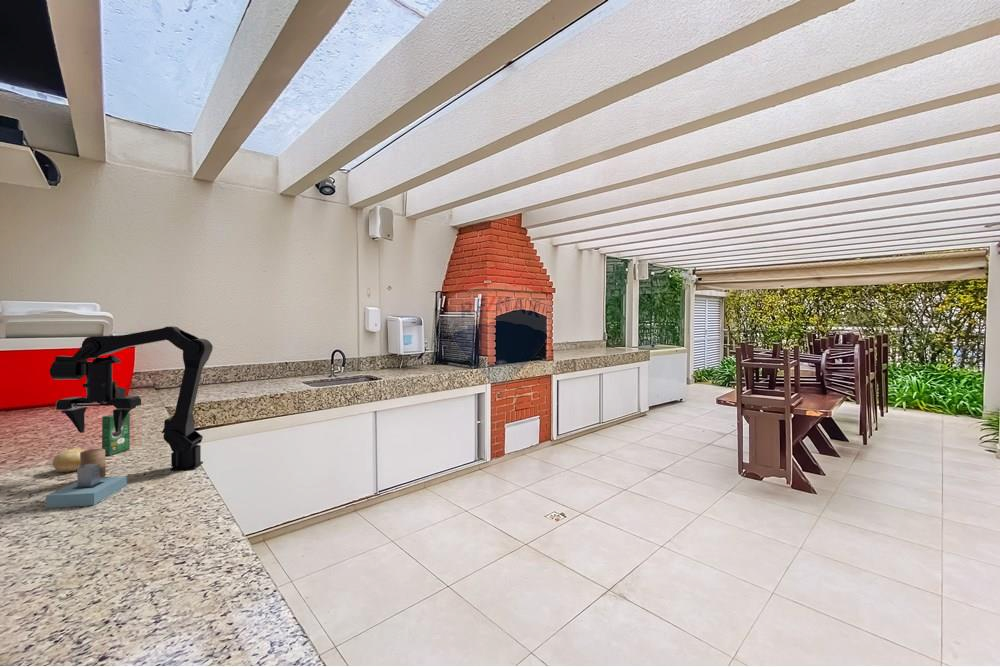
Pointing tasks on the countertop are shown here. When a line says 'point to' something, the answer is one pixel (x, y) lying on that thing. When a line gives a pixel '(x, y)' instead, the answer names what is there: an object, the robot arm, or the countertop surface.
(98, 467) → the square peg
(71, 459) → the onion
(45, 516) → the countertop surface
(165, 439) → the robot arm
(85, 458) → the round peg
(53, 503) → the socket board
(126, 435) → the coffee box
